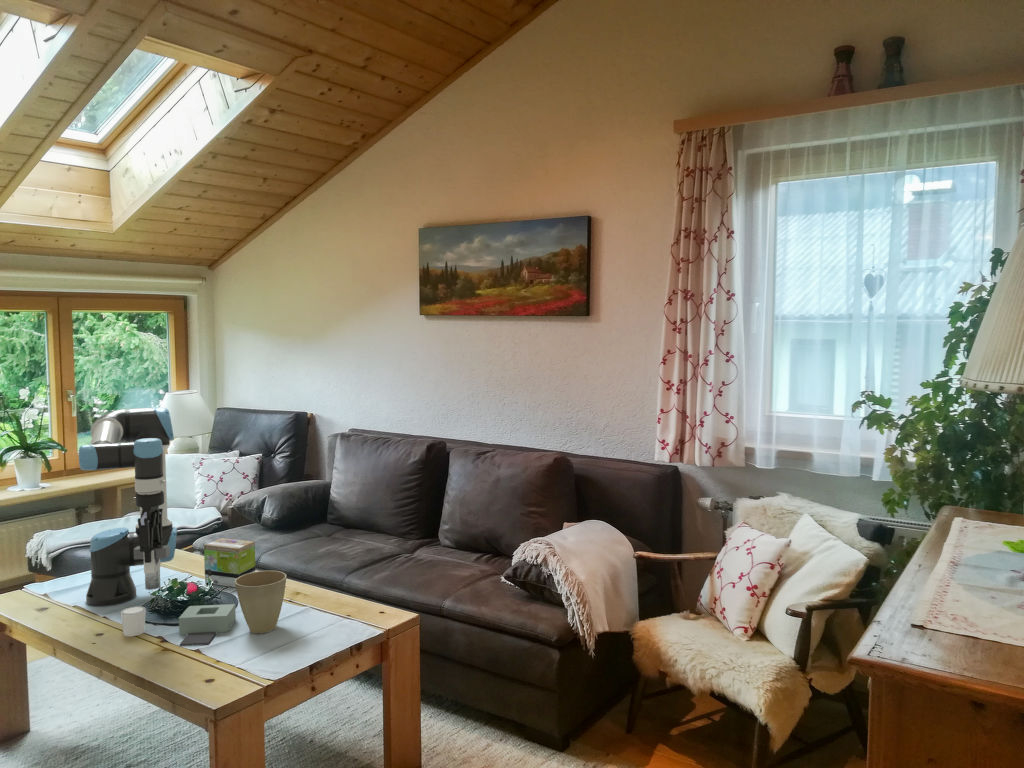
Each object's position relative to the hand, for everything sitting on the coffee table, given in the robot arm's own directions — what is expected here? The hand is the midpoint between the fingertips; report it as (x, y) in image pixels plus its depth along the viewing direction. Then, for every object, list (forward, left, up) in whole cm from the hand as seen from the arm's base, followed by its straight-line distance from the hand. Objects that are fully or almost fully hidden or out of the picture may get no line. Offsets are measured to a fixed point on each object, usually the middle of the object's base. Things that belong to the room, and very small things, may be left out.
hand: (152, 570), depth 220 cm
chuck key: (0, 0, -5) cm, 5 cm away
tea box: (+9, +51, -21) cm, 56 cm away
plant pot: (+30, +4, -21) cm, 37 cm away
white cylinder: (-8, +6, -21) cm, 23 cm away
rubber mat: (+13, -2, -21) cm, 25 cm away
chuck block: (+13, +8, -21) cm, 26 cm away
